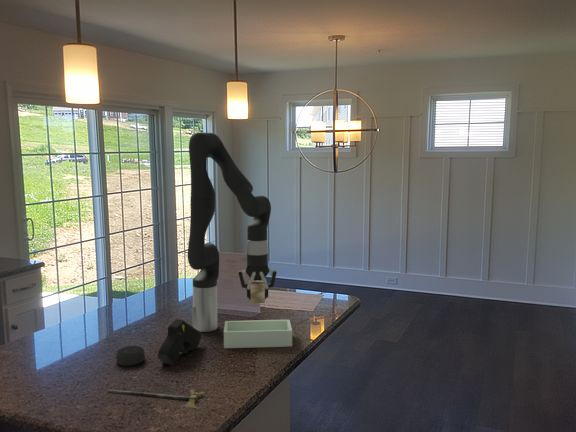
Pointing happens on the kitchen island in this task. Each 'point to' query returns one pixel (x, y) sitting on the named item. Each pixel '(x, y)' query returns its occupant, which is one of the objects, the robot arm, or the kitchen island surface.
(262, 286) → the block
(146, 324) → the kitchen island surface
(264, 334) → the tub
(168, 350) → the taser
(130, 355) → the smart speaker
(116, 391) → the decorative axe
